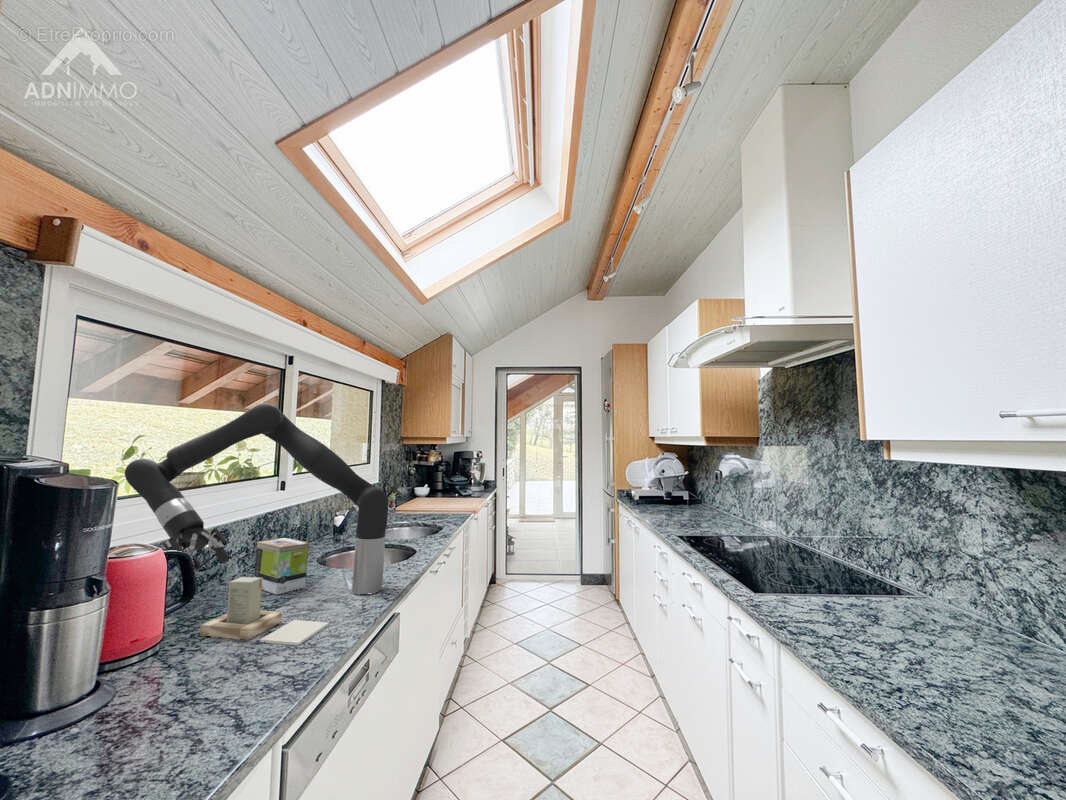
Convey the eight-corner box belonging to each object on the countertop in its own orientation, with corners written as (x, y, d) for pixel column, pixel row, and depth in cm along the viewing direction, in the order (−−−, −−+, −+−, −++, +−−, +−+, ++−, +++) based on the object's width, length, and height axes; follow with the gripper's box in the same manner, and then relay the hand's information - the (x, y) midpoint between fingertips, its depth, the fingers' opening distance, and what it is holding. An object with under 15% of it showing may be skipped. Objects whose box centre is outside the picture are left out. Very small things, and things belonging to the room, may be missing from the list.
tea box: (306, 587, 142) (310, 541, 143) (275, 596, 133) (279, 547, 135) (282, 579, 150) (286, 536, 151) (251, 587, 141) (255, 541, 143)
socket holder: (236, 618, 116) (237, 608, 116) (281, 621, 114) (282, 612, 114) (199, 635, 105) (200, 625, 105) (248, 640, 103) (249, 629, 103)
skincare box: (260, 626, 111) (264, 577, 112) (247, 633, 107) (252, 582, 108) (237, 624, 112) (242, 575, 113) (223, 631, 107) (228, 580, 109)
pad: (294, 622, 114) (294, 619, 114) (328, 625, 112) (328, 622, 112) (259, 642, 102) (260, 639, 102) (298, 645, 101) (298, 642, 101)
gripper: (163, 513, 108) (198, 562, 105) (212, 505, 122) (244, 549, 119) (142, 533, 108) (176, 583, 105) (193, 524, 122) (225, 567, 119)
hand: (212, 565), depth 112 cm, fingers open, 8 cm apart
